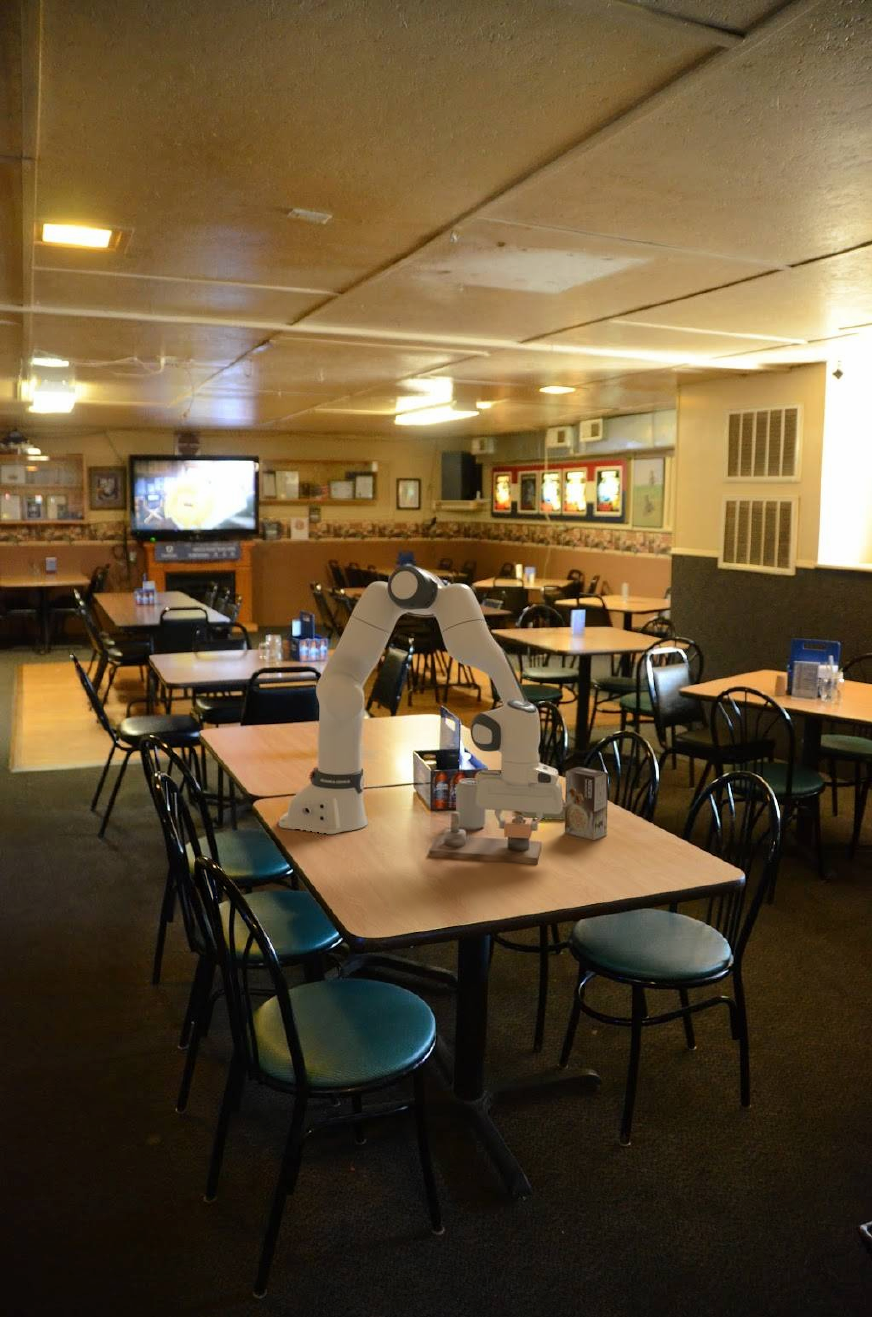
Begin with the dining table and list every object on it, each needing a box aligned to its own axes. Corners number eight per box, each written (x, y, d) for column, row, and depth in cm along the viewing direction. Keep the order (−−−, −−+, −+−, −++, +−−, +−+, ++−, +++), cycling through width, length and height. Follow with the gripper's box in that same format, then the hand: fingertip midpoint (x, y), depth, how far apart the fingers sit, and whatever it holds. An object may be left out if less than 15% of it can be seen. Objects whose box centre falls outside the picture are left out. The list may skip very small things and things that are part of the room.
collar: (504, 837, 232) (504, 824, 232) (507, 829, 238) (507, 816, 238) (530, 838, 231) (530, 825, 231) (532, 830, 237) (532, 818, 237)
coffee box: (608, 835, 250) (610, 772, 248) (593, 841, 246) (595, 777, 244) (577, 827, 257) (579, 765, 254) (562, 832, 252) (564, 770, 250)
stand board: (429, 856, 233) (429, 817, 232) (438, 840, 245) (438, 802, 243) (537, 864, 229) (538, 824, 227) (541, 847, 240) (542, 809, 239)
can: (482, 832, 252) (483, 785, 250) (453, 829, 253) (454, 783, 252) (487, 823, 259) (488, 777, 257) (458, 821, 261) (459, 776, 259)
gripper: (473, 772, 231) (472, 830, 233) (563, 777, 228) (561, 836, 230) (477, 765, 237) (476, 822, 239) (564, 770, 234) (562, 828, 236)
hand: (518, 829), depth 234 cm, fingers closed on collar, 6 cm apart
